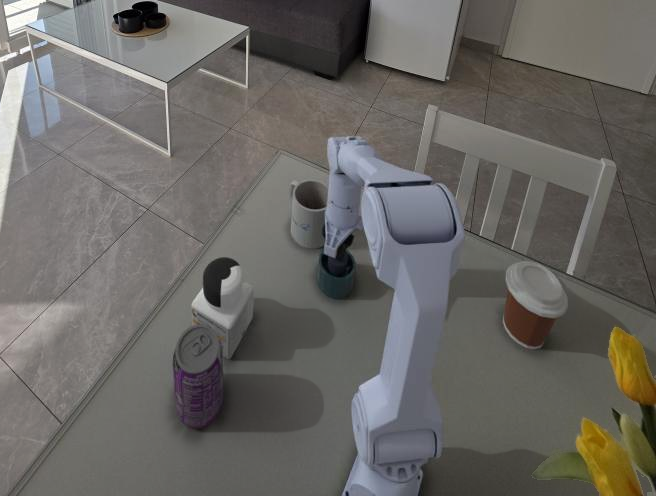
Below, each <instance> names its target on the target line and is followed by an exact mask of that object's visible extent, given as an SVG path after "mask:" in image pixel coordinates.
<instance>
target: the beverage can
mask: <svg viewBox="0 0 656 496" xmlns="http://www.w3.org/2000/svg"><path fill="white" fill-rule="evenodd" d="M172 373H173V377H172V378H173V389H174V390H173V391H174V392H173V393H174V406H175V412H176V413H175V414H176V415H177V418H178V420H179V421H180V422H181V423H182V424H183V425H184V426H185V427H187V428H190V429H194V430H195V429H202V428H204V427H207V426H208V425H210V424H211V423H212V422H213V421H214V420H215V419H216V418H217V416H218V414H219V413H220V411H221V410H222V409H221V408H222V406H223V401H224V356H223V351H222V346H221V343H220V341H219V339H218V336H217V334H216V332H215V331H214V330H213V329H212V328H211V327H209V326H207V325H204V324H197V325H193V326H192V325H191V326H189V327H188V328H186V329H185V330H184V331H183V332H182V333H181V334H180V336H179V337H178V339H177V341H176V345H175V348H174V351H173V355H172Z"/></svg>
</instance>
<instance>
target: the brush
mask: <svg viewBox="0 0 656 496" xmlns="http://www.w3.org/2000/svg"><path fill="white" fill-rule="evenodd" d="M346 268H347V255H346V253H345V254H344V257H343V259H342V261H339V260H337V259H334V258H332V257H330V256H328V264H327V269H328V272H329V273H330V274H331V275H332V276H334V277H343V276H344V275H345V273H346Z"/></svg>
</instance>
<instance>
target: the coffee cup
mask: <svg viewBox="0 0 656 496" xmlns="http://www.w3.org/2000/svg"><path fill="white" fill-rule="evenodd" d="M505 283H506V286H507V290H506V291H507V292H506V297H505V306H504V311H503V315H502V317H503V318H502V324H503V326H504V329H505V331H506V332H507V334H508V335H509V337H510V338H511V339H513V341H515V342H516V343H517V344H518V345H520V346H522V347H523V348H525V349H529V350H537V349H540V348H542V347H543V345H544V344H545V341H546V339H547V337H548V335H549V333H550V331H551V329H552V328H553V325H554V323H555V322H556V320H557V318H559V317H562V316H564V314H565V313H566V311H567V309H568V307H569V306H568V296H567V294H566V292H565V290H564V288H563V286H562V284H561V282H560V280H559V278H558V277H557V276H556V275H555V274H554V273H553V272H552V271H550V269H548V268H547V267H545V266H544V265H542V264H539V263H537V262H535V261H531V260H523V261H519V262H514V263H511V264H510V265H509V266H508V268H507V269H506V271H505Z"/></svg>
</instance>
